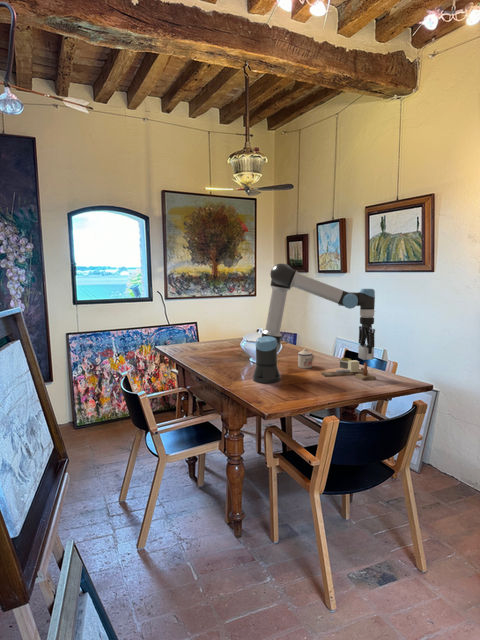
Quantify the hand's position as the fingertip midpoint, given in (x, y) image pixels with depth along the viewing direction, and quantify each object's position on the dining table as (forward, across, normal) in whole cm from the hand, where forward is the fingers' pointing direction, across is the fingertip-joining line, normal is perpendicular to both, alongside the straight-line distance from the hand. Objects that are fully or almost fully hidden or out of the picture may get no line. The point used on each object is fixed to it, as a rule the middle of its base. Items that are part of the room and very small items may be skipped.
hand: (365, 357), depth 216 cm
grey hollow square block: (0, 0, 0) cm, 0 cm away
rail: (+11, +10, +9) cm, 17 cm away
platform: (+12, +23, 0) cm, 26 cm away
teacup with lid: (+12, +32, +23) cm, 41 cm away
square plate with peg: (+11, 0, 0) cm, 11 cm away
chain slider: (+10, +10, +6) cm, 16 cm away
